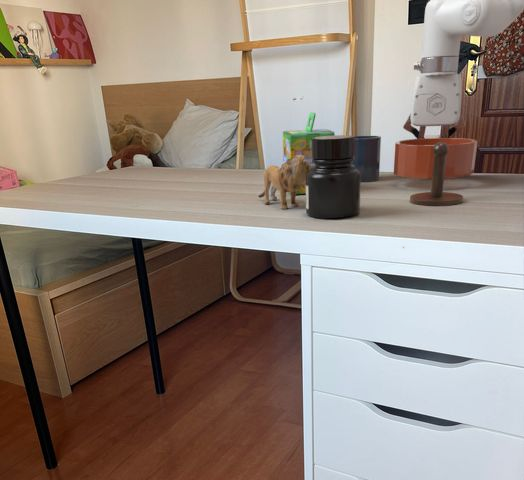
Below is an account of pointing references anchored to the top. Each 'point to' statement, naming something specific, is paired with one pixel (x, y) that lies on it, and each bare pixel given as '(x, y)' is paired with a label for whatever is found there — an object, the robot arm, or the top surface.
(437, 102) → the robot arm
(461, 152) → the bowl
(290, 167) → the lion figurine
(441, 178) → the holder post
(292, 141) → the green juice box
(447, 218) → the top surface
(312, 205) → the ink bottle
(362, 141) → the cup
